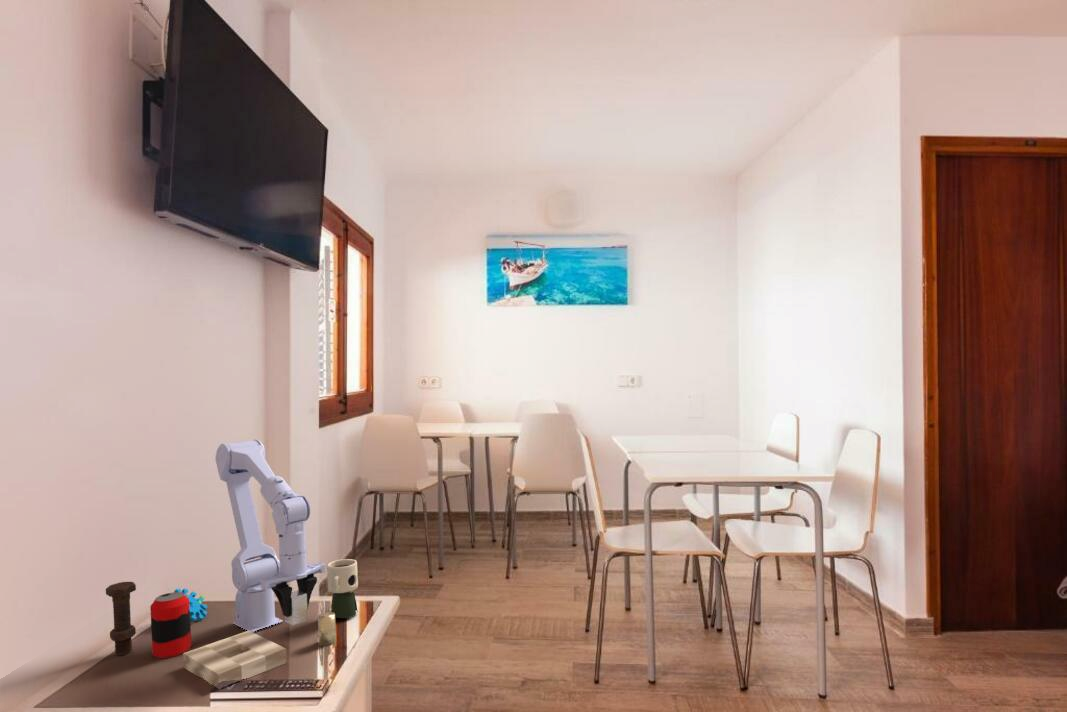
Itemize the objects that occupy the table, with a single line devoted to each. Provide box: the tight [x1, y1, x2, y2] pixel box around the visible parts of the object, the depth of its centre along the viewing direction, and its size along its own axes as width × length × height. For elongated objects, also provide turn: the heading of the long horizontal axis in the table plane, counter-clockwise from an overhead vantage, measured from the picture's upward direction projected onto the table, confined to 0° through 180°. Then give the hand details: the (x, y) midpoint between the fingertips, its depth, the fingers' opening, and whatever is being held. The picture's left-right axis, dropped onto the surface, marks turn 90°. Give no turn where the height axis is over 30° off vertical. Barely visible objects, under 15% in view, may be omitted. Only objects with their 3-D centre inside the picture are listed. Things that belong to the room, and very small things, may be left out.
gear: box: [173, 588, 208, 622], centre depth 169 cm, size 11×6×10 cm
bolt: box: [105, 581, 137, 656], centre depth 150 cm, size 6×5×15 cm
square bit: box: [283, 589, 309, 626], centre depth 152 cm, size 4×4×6 cm
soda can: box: [149, 591, 192, 659], centre depth 150 cm, size 8×8×12 cm
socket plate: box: [182, 630, 287, 686], centre depth 141 cm, size 16×14×3 cm
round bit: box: [317, 611, 337, 647], centre depth 151 cm, size 4×4×6 cm
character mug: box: [326, 558, 359, 620], centre depth 166 cm, size 11×7×13 cm, turn 177°
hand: (295, 612), depth 152 cm, fingers closed on square bit, 4 cm apart
